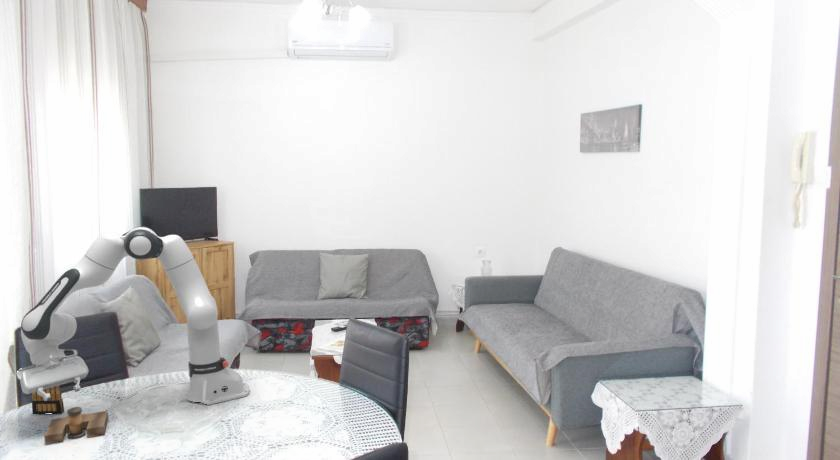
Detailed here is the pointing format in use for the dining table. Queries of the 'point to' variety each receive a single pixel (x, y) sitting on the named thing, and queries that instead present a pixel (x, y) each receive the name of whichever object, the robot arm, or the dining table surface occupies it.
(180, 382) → the dining table surface
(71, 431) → the bobbin
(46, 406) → the ammunition clip
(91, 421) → the notched board
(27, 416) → the dining table surface
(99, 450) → the dining table surface
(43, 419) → the dining table surface
